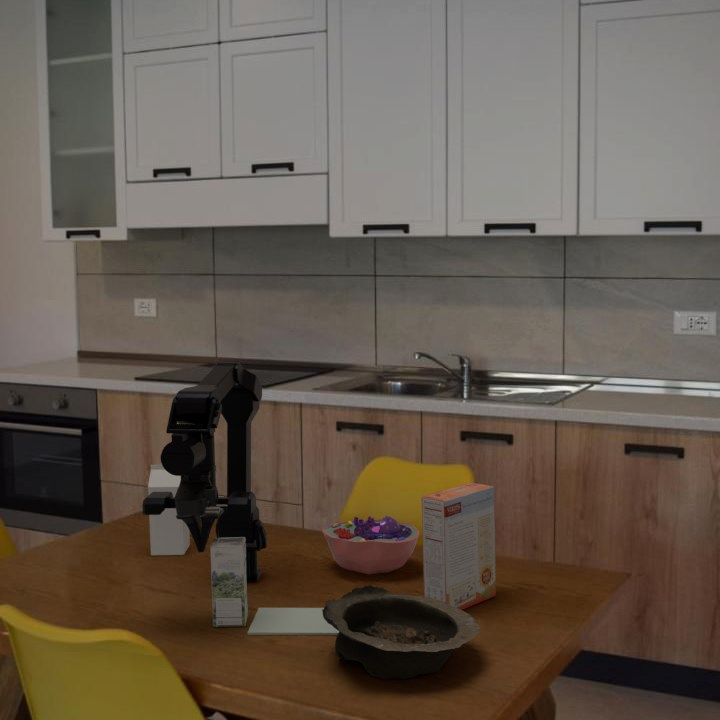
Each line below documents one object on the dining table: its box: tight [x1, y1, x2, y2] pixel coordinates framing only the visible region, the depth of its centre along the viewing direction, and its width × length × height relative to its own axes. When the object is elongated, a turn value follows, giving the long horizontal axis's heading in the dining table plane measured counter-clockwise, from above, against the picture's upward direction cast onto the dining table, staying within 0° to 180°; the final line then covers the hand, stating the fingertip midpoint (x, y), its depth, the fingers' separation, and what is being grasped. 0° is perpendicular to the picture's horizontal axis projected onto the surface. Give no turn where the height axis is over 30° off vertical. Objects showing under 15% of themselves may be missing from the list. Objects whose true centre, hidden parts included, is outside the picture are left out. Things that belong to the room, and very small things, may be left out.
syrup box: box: [209, 537, 249, 628], centre depth 180 cm, size 6×6×14 cm
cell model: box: [321, 515, 421, 575], centre depth 207 cm, size 17×20×11 cm
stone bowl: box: [322, 585, 481, 680], centre depth 162 cm, size 25×25×9 cm
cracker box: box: [421, 481, 497, 611], centre depth 187 cm, size 14×6×21 cm, turn 135°
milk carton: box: [147, 463, 191, 556], centre depth 222 cm, size 7×7×19 cm
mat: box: [247, 607, 339, 636], centre depth 180 cm, size 12×16×1 cm
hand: (201, 551), depth 179 cm, fingers closed
